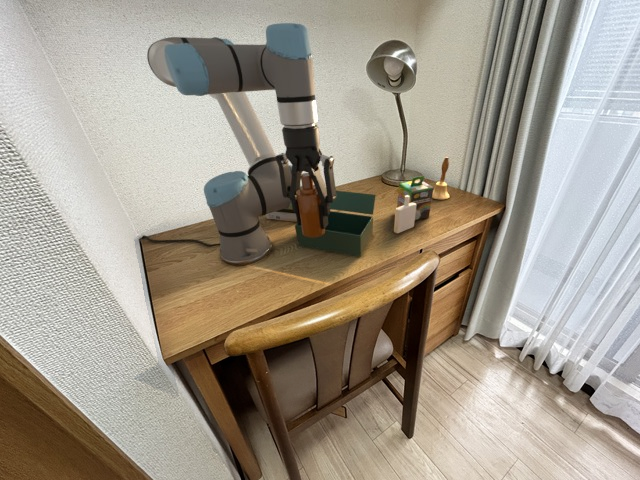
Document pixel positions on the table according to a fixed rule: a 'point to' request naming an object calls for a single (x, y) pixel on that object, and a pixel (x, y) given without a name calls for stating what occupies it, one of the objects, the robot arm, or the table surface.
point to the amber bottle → (309, 207)
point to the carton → (341, 234)
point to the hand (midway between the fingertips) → (313, 224)
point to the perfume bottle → (405, 216)
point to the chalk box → (416, 196)
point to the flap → (354, 202)
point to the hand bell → (442, 183)
